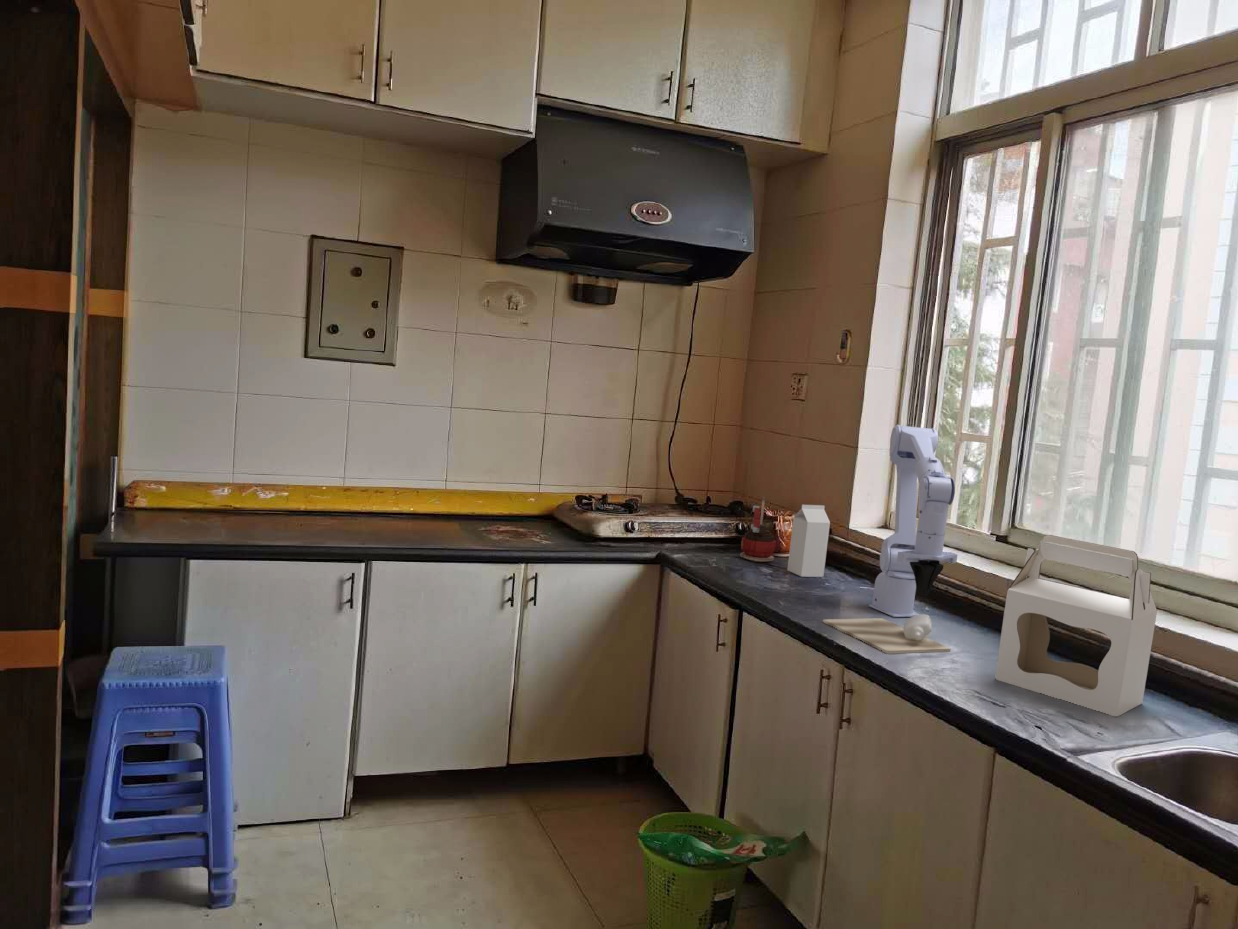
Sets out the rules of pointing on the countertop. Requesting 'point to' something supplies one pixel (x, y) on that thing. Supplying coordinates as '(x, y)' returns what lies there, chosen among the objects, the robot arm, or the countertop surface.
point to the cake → (758, 539)
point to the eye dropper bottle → (917, 627)
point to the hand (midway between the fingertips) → (922, 595)
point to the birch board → (885, 636)
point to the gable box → (1084, 608)
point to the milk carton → (809, 541)
